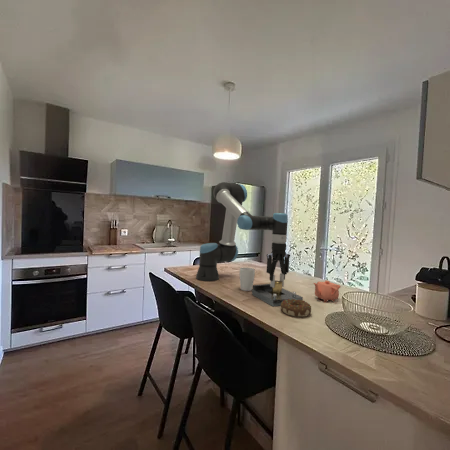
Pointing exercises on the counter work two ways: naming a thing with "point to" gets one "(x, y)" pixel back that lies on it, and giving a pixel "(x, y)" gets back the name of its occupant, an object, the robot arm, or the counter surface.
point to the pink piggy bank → (327, 291)
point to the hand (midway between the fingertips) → (276, 286)
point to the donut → (296, 307)
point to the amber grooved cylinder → (277, 288)
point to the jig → (273, 295)
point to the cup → (246, 278)
